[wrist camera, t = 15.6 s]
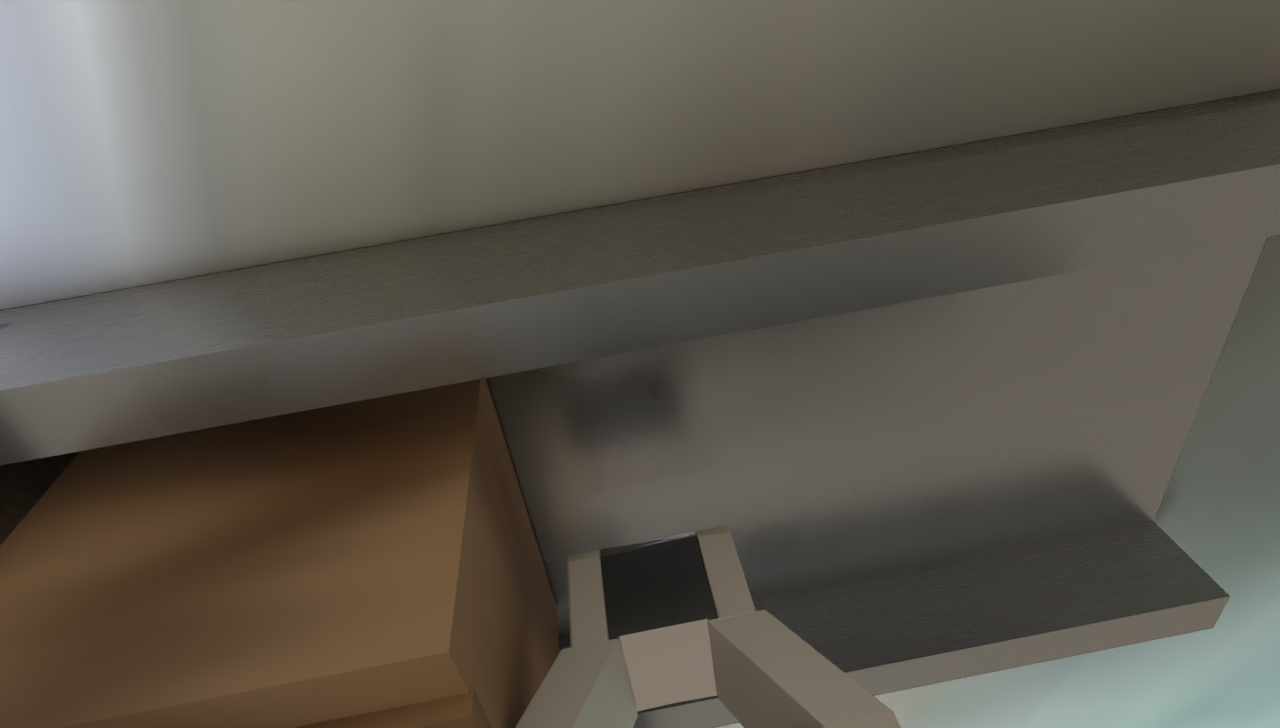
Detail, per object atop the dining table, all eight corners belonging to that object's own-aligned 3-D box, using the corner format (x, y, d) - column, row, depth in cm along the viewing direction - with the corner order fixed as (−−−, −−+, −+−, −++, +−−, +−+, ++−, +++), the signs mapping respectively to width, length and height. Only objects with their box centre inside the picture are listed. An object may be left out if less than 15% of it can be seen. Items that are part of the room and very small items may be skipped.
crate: (484, 366, 11) (451, 674, 6) (560, 609, 14) (571, 922, 10) (88, 438, 11) (-227, 807, 6) (259, 666, 14) (132, 1013, 10)
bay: (1293, 86, 11) (1580, 152, 8) (1125, 535, 16) (1255, 673, 13) (-36, 317, 10) (-273, 484, 7) (264, 703, 15) (201, 886, 13)
